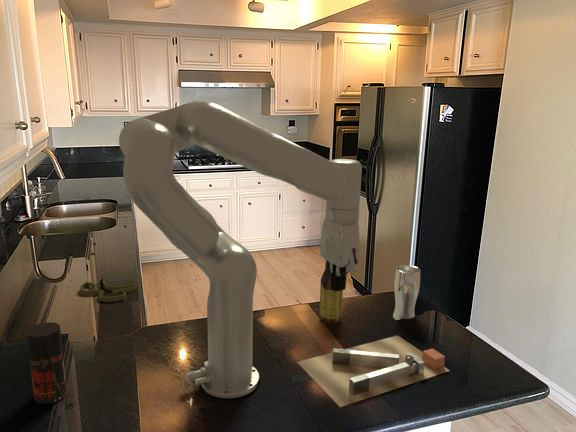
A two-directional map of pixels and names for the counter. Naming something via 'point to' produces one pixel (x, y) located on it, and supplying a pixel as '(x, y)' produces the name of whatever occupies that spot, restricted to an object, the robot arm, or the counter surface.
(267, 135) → the robot arm
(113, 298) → the cookie cutter
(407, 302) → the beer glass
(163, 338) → the counter surface
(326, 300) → the sauce bottle
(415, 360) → the base
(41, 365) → the deodorant
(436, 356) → the tab
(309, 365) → the board
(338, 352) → the tong jaw
